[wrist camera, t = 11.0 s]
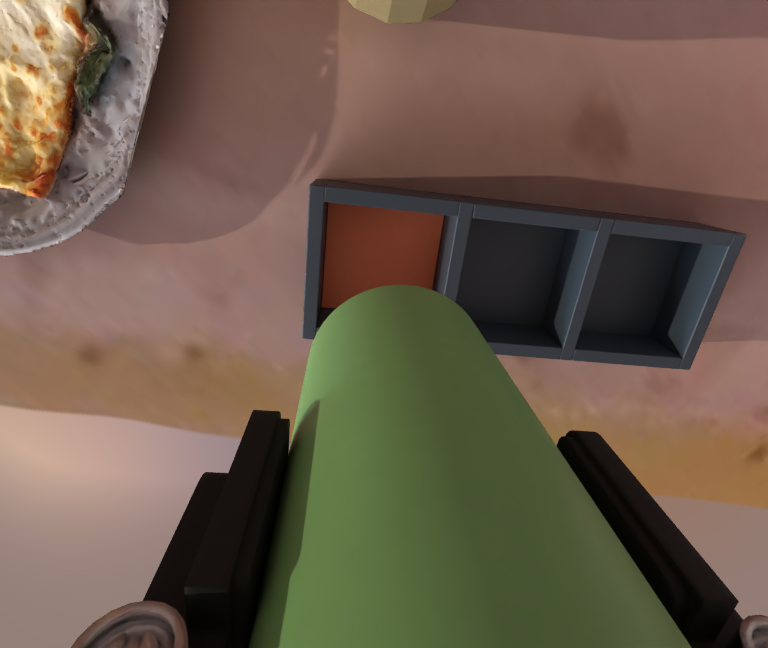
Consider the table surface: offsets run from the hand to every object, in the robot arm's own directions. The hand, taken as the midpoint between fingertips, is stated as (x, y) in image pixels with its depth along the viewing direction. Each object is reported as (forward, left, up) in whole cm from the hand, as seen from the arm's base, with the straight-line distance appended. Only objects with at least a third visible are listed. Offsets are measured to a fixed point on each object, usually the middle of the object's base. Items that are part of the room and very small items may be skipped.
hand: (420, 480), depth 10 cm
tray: (-8, 0, -20) cm, 22 cm away
